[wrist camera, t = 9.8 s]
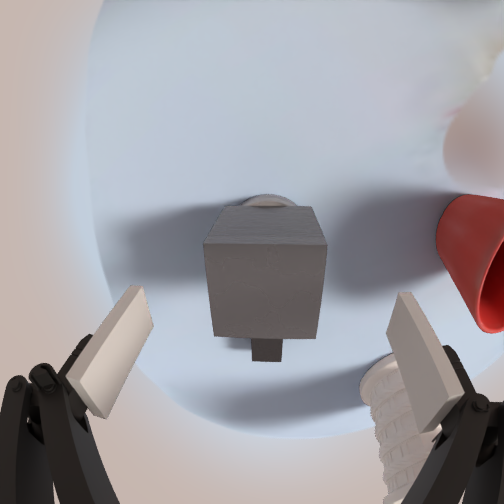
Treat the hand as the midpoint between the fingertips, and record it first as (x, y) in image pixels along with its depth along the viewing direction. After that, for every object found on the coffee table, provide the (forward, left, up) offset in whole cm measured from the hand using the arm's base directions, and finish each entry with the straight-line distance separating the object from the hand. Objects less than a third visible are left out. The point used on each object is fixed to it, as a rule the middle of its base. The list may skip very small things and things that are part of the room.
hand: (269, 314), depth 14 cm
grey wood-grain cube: (0, 0, -9) cm, 9 cm away
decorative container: (+20, +18, -12) cm, 29 cm away
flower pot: (-1, +20, -12) cm, 23 cm away
